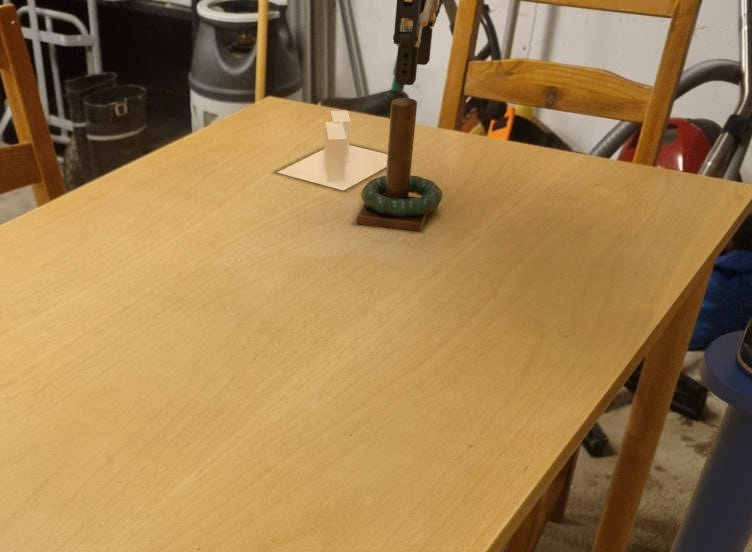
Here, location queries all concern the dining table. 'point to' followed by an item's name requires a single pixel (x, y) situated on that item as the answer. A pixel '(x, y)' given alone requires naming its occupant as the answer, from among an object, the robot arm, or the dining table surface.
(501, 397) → the dining table surface
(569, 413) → the dining table surface
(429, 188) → the ring
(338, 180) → the napkin holder
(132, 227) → the dining table surface
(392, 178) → the post
